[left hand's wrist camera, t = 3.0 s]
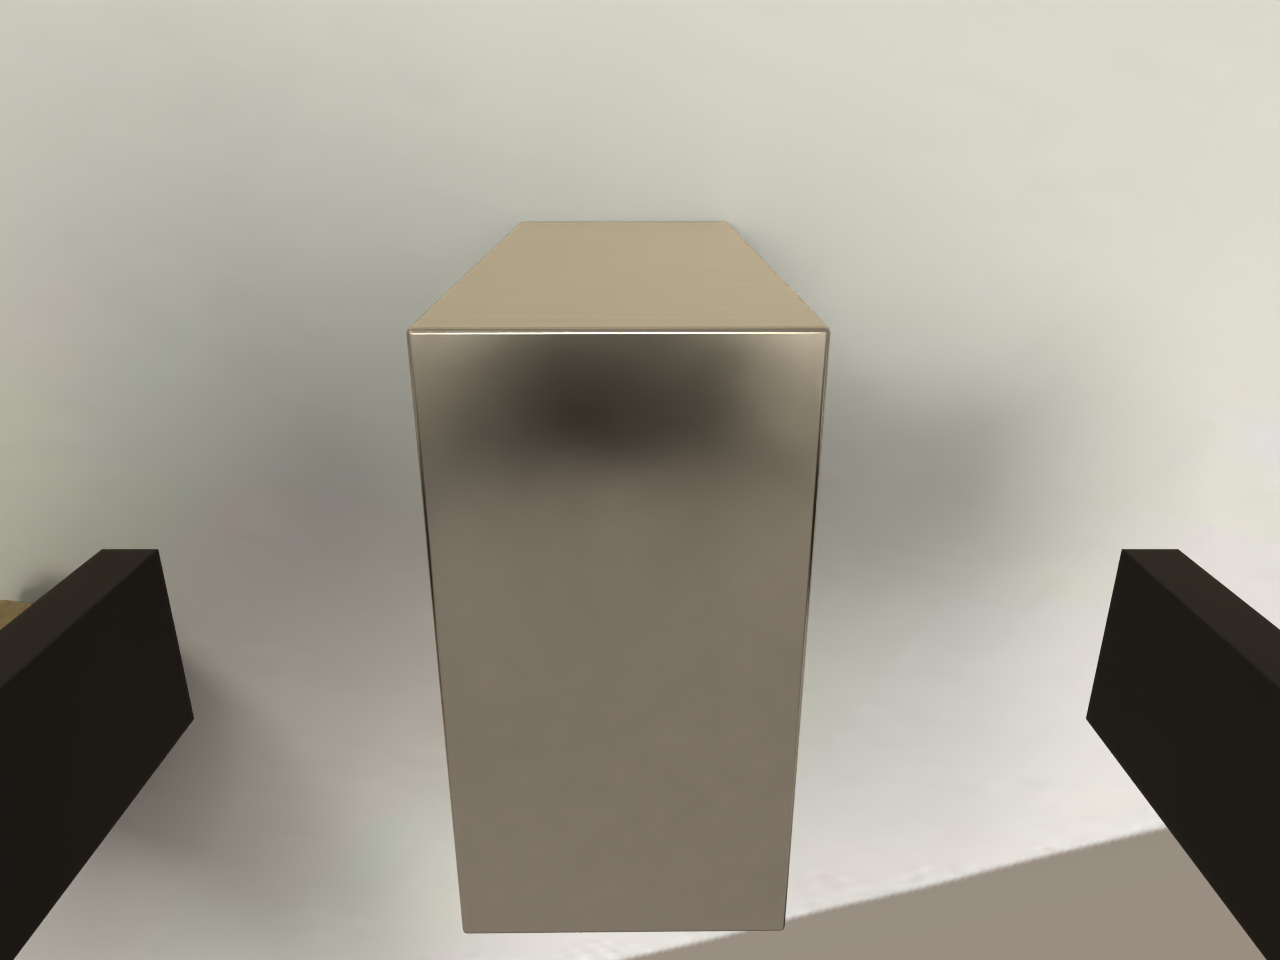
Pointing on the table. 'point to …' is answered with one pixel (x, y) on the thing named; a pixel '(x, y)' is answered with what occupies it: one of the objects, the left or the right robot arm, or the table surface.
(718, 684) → the block
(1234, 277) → the table surface
